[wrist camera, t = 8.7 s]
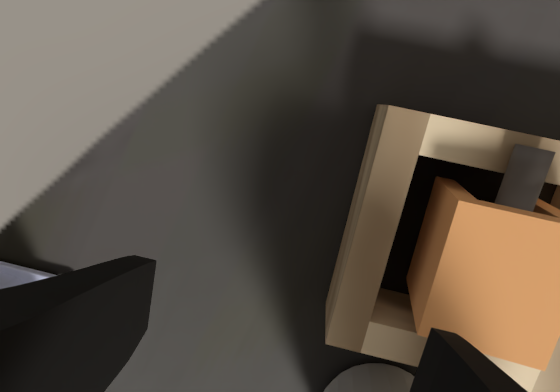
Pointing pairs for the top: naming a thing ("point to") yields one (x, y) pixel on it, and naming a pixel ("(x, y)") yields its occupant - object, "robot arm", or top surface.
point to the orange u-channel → (488, 275)
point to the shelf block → (386, 214)
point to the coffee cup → (372, 379)
